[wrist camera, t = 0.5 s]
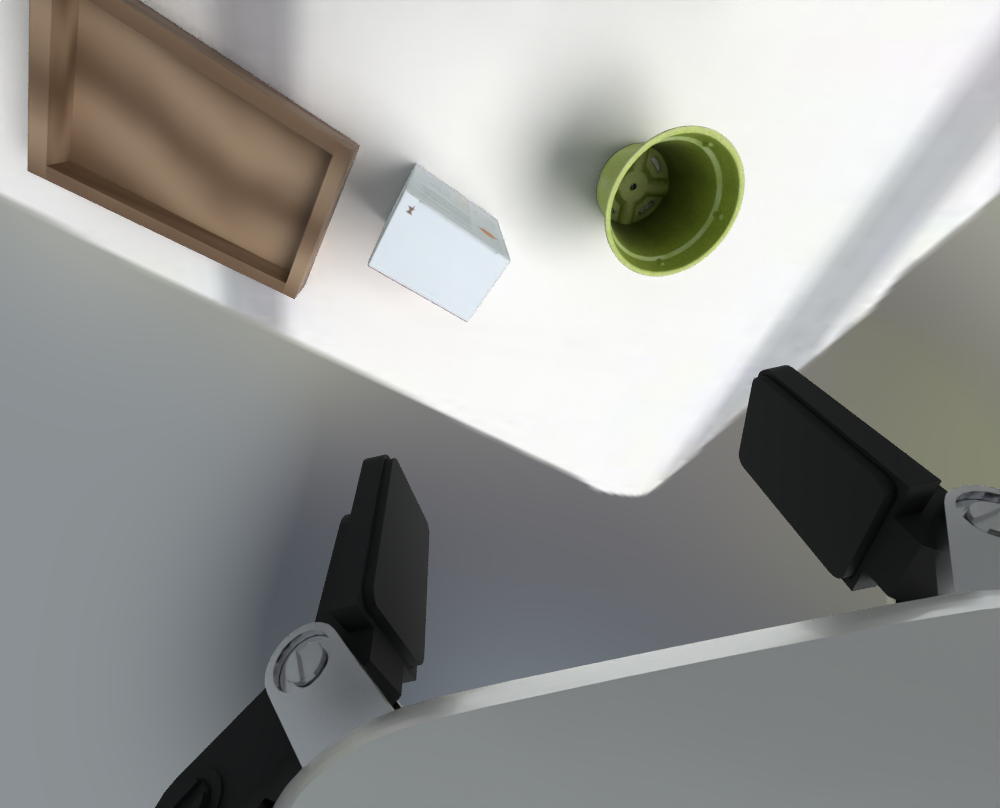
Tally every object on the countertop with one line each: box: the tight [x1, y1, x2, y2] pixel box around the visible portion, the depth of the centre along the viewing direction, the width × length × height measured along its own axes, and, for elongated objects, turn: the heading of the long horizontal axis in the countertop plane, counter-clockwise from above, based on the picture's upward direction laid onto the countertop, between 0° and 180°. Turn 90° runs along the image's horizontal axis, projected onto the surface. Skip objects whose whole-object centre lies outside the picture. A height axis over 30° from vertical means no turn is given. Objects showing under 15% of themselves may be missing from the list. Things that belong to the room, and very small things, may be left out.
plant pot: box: [597, 126, 745, 276], centre depth 32 cm, size 9×9×9 cm
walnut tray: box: [28, 0, 360, 299], centre depth 30 cm, size 13×18×3 cm
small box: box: [368, 164, 510, 322], centre depth 32 cm, size 8×6×10 cm
